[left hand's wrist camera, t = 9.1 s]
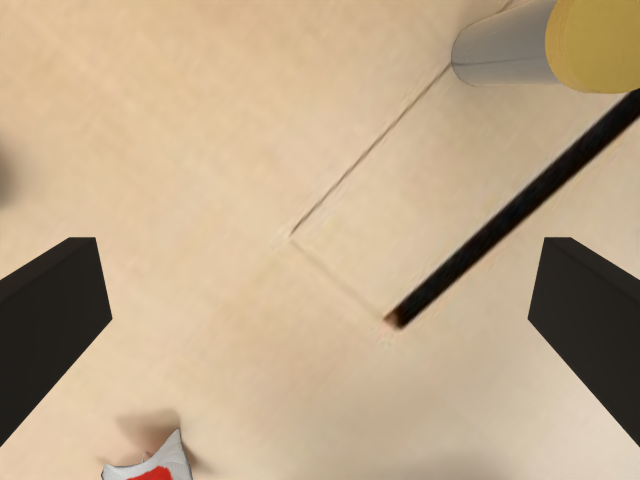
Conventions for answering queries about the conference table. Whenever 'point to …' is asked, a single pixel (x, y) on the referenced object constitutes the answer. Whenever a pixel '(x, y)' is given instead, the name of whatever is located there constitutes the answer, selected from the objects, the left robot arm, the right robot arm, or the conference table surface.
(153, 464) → the fish
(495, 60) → the jar
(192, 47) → the conference table surface
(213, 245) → the conference table surface
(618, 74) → the lid
